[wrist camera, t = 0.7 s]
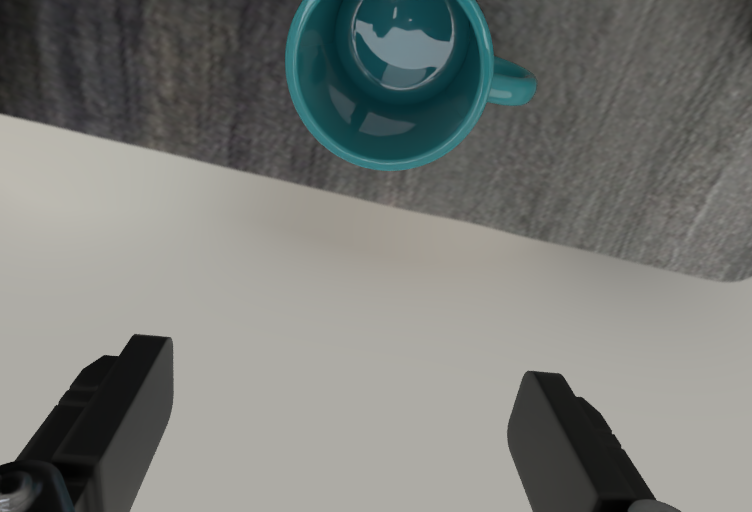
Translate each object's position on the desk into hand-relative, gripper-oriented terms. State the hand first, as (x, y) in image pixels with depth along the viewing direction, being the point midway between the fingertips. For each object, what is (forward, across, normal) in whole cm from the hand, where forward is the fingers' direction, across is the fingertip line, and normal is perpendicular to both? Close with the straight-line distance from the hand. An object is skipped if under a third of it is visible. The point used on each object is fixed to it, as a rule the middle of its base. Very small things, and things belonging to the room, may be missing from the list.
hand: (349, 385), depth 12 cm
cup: (+25, -4, -7) cm, 26 cm away
